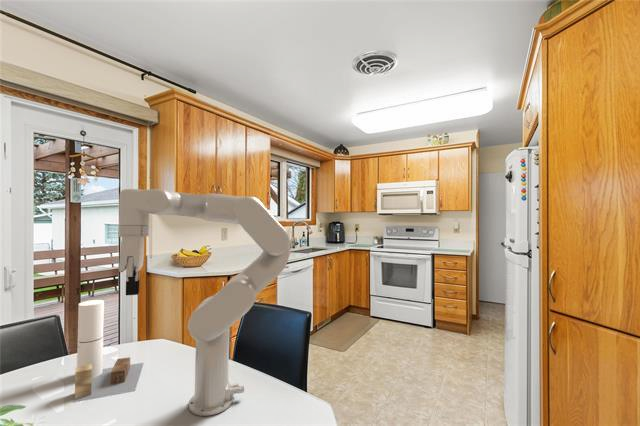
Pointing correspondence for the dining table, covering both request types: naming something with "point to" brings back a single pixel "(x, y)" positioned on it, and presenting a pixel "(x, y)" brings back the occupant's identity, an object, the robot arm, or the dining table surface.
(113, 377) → the walnut block
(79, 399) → the mat
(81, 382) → the oak block
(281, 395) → the dining table surface
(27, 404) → the dining table surface
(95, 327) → the cylindrical container
